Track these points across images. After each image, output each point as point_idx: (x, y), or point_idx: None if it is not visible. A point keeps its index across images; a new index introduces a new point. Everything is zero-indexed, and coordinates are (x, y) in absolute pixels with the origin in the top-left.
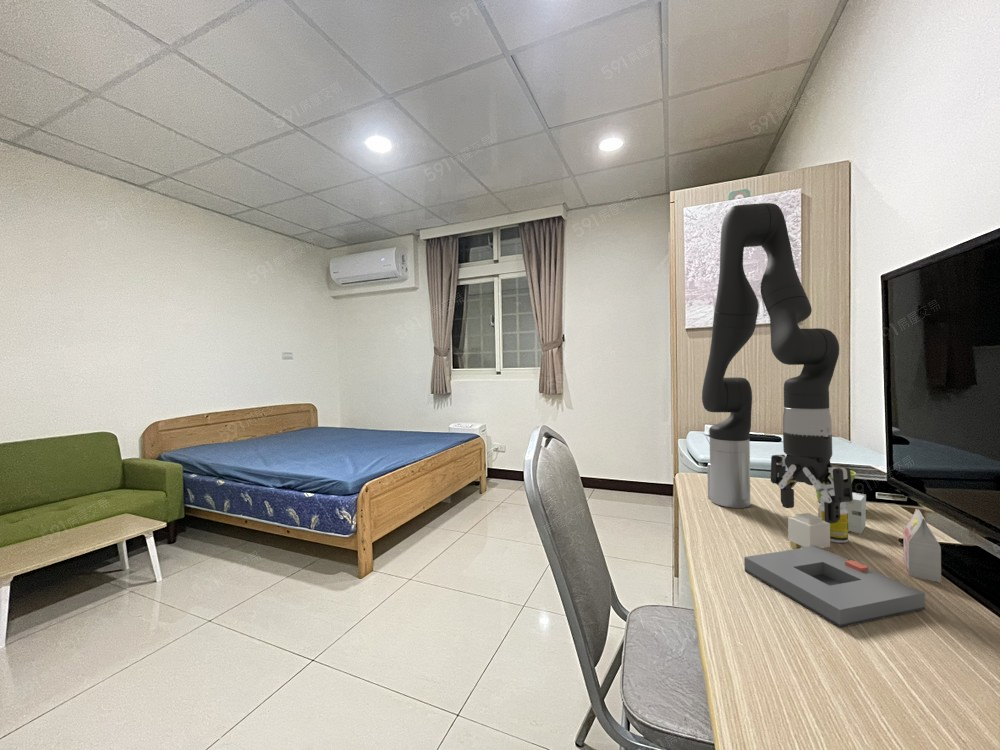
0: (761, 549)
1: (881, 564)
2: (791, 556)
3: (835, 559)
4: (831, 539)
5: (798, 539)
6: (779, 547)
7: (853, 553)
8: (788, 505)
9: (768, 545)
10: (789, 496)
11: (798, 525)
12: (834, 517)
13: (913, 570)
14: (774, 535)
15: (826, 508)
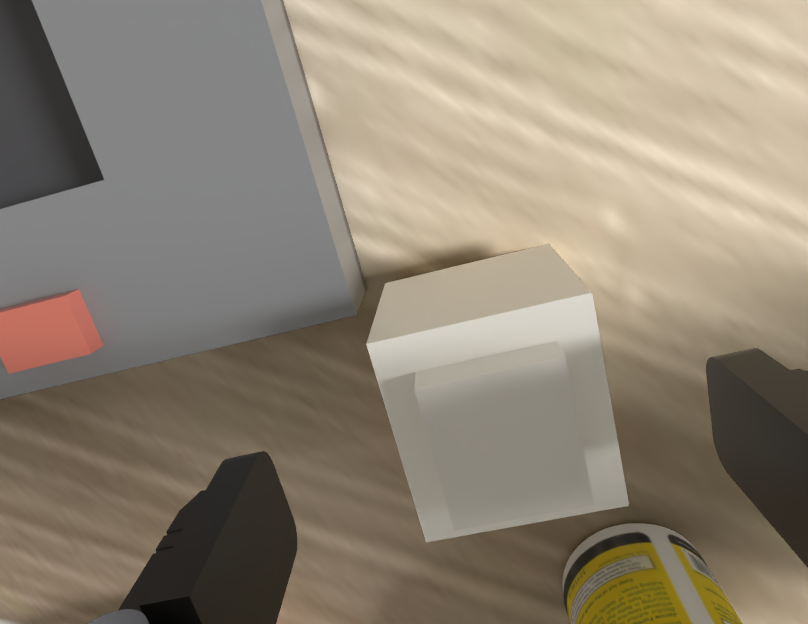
0: (527, 9)
1: (314, 562)
2: (167, 1)
3: (149, 287)
4: (589, 545)
5: (471, 272)
6: (547, 171)
7: None
8: (721, 402)
9: (587, 111)
10: (787, 483)
11: (475, 306)
12: (178, 524)
13: None
14: (741, 269)
15: (187, 543)
